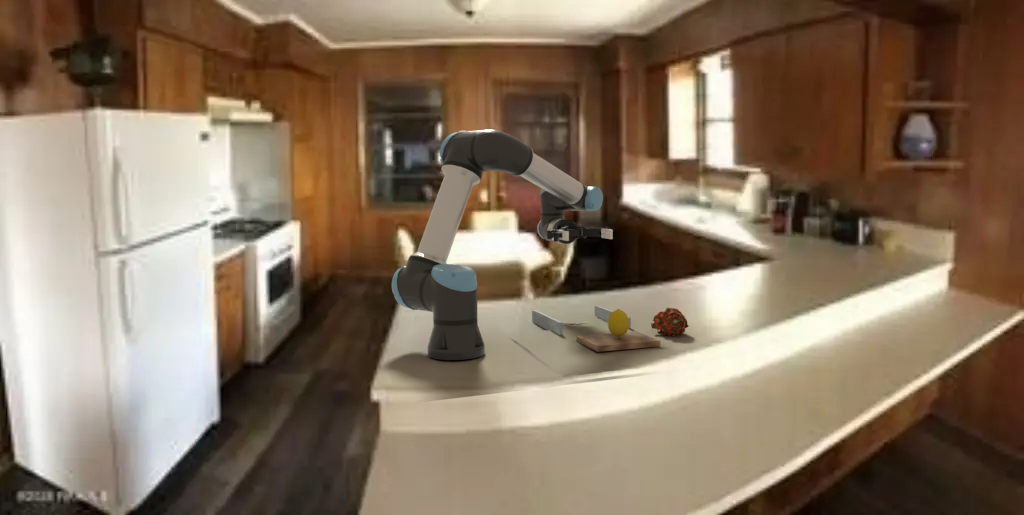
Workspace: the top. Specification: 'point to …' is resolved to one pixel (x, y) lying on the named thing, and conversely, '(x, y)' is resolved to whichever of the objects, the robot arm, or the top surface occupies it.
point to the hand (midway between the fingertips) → (589, 235)
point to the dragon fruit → (670, 322)
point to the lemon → (618, 323)
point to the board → (618, 341)
